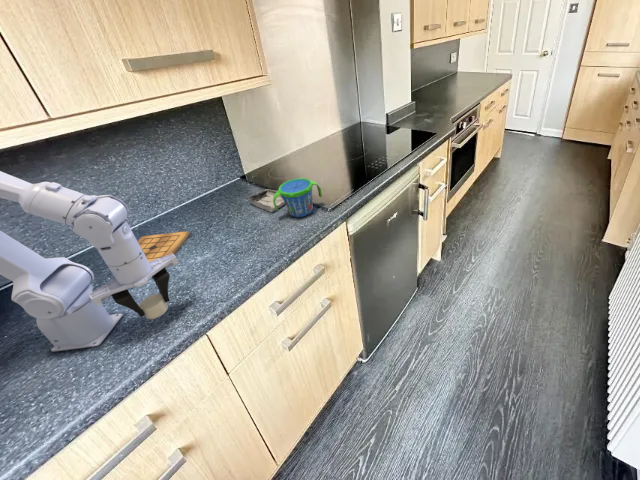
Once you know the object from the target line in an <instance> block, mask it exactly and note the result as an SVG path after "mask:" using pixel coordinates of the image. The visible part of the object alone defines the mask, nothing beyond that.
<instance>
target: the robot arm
mask: <svg viewBox="0 0 640 480" xmlns="http://www.w3.org/2000/svg"><path fill="white" fill-rule="evenodd" d="M0 199H4V200H7V201H12V202H16V203H18V204H19V205H20V207H21V209H22V210H23V212H25V213H27V214H30V215H33V216H37V217H40V218H43V219H47V220H49V221H52V222H53V221H54V222H56V223H60V224H63V225H66V226H69V227H72V231H73V232H74V233H75V234H76V235H77V236H79V237H80V238H82V239H84V240H86V241H87V242H88V243H89V244H90V246H91V247H93V248H94V249H96V250H97V252H98V253H99V255H100V257H101V258H102V260H103V262H104V263H105V264H106V266H107V268H108V269H109V271H110V273H111V275H113V277H114V278H112V279H111V280H110V281H108V282H107V283H105V284H104V285H103V286H101V287H100V288H98V289H96V290H94V289H95V288H94V286H93V284H92V283H93V282H94V281H95V280H94V279H95V274H94V272H93V270H91V269H90V268H89V267H87V266H86V265H84V264H82V263H77V262H74V261H71V260H70V259H68V258H67V257H65V256H59V257H49V258H48V257H47V258H45V257H44V256H42V255H40V254H39V253H37V252H35V251H34V250H32V249H31V248H29V247H28V246H26V245H24V244H22V243H21V242H19V241H18V240H16V239H15V238H13V237H11V236H10V235H8V234H7V233H5V232H3V231H2V230H0V276H2V277H4V278H6V279H7V280H9V281H11V282H12V283H13V286H12V291H11V301H12V302H14V303H16V304H17V305H19V306H20V307H21V308H22V309H23V310H24V311H25V313H27V314H28V315H29V316H30V317H33V318H35V319H36V327H37V329H38V330H39V331H40V332H41V333H42V334H43V336H45V338H46V339H47V340H48V341H49V342H50V343H51V344H52V345H53V347H52V348H51V349H50V351H51V352H53V353H54V352H61V351H62V352H63V351H69V350H70V351H71V350H78V349H85V348H92V347H93V348H94V347H99V346H100V345H101V344H102V343H103V342H104V340H105V339H106V338H107V337H108V335H109V334H110V333H111V332H112V330H113V329H114V327H115V326H116V325H117V324H118V323H119V321H120V319H121V318H122V317H123V315H124V314H122V313H113V314H109V313H108V311H107V310H106V308H105V307H104V306H103V303H104V301H105V300H107V299H110V298H111V297H112V299H113V301H114V302H115V303H116V304H118V306H119V305H120V306H122V307H125V308H128V309H130V310H132V311H133V312H135V313H136V314H137V315H138V316H139V317H140V318H142V317H145V314H144V313H143V311H142V310H141V309H140V304H138V302H137V301H136V300H135V299H134V297H133V296H132V294H131V292H130V291H129V290H128V289H131V288H134V287H135V288H140V287H142V286H144V285H147V283H148V282H149V279H151V278H152V279H153V281H154V283H155V285H156V287H157V290H158V291H159V294H161V295H162V296H163V298H164V300H165V301H166V303H167V304H168V302H170V297H169V282H170V278H171V277H170V273H169V271H168V270H167V269H168V268H170V267H171V266H173V267H174V266H177V265H179V264H180V263H179V260H178V259H177V257H176V255H175V254H173V253H172V254H169V255H167V256H165V257H162V258H159V259H156V260H153V261H150V262H148V260H147V258H146V256H145V254H144V252H143V251H142V249H141V247H140V245H139V243H138V239H137V237H136V236H135V234H134V232H133V230H132V229H131V227H130V225H129V224H128V223H129V222H128V221H127V220H126V219H127V218H128V217H129V214H130V210H129V207H128V205H127V204H126V203H125V202H124V201H123V200H122V199H120V198H118V197H115V196H114V195H111V194H102V195H95V194H93V195H89V194H85V193H82V192H80V191H77V190H74V189H70V188H67V187H65V186H63V185H62V184H60V183H57V182H55V181H52V182H50V181H42V182H38V183H31V182H29V181H26V180H23V179H22V178H19V177H17V176H14V175H11V174H8V173H6V172H3V171H1V170H0ZM93 290H94V291H93Z"/></svg>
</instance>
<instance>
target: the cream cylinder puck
mask: <svg viewBox="0 0 640 480" xmlns="http://www.w3.org/2000/svg"><path fill="white" fill-rule="evenodd" d="M139 307H140V309H141V310H142V311H143V313H144V314H145V315H144V317H145V318H146V319H147V320H154V319H157V318H159V317H161V316H162V315H164V314H165V313H166V312H167V311H168V308H169V305H168V302H167V303H166V301H165V300H164V298H163V296H162V295H161V294H160V293H155V294H151V295H149V296H146V297H145V298H144V299H143V300H142V301H141V302H140V303H139Z"/></svg>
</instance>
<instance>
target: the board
mask: <svg viewBox="0 0 640 480" xmlns="http://www.w3.org/2000/svg"><path fill="white" fill-rule="evenodd" d="M190 235H191V234H190V232H189V231H177V232H170V233H160V234H151V235H142V236H141V237H140V238H139V239H137V241H138V243H139V245H140V247H141V249H142V251H143V252H144V254H145V256H146V258H147V260H148V262H150V261H153V260H156V259H159V258H162V257H165V256H167V255H169V254H172V253H173V254H174V255H175V254H176V253H177V252H178V251H179V249H180V248H181V247H182V245H183V244H184V243H185V241H186V240H187V239H188V238H189V236H190Z"/></svg>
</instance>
